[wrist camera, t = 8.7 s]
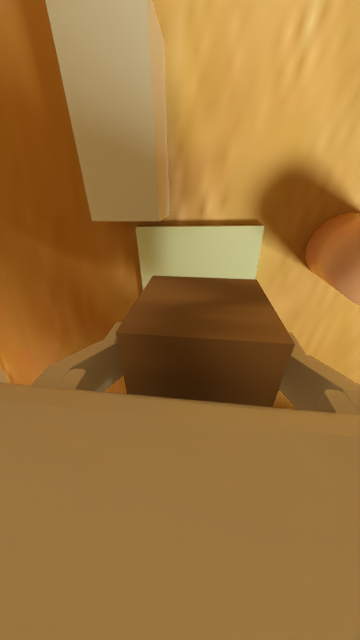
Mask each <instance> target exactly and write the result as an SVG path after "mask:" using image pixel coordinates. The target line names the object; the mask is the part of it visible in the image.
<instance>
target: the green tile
mask: <svg viewBox="0 0 360 640" xmlns="http://www.w3.org/2000/svg"><path fill="white" fill-rule="evenodd" d="M264 227H265V226H263V225H209V226H137V227H135V229H136V237H137V246H138V254H139V262H140V270H141V278H142V286H143V290H144V288H145V287H146V285H147V284H148V282H149V281H150V279H151V278H152V276H153V275H154V276H180V277H206V278H232V279H255V278H256V272H257V267H258V261H259V255H260V249H261V244H262V238H263V232H264Z"/></svg>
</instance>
